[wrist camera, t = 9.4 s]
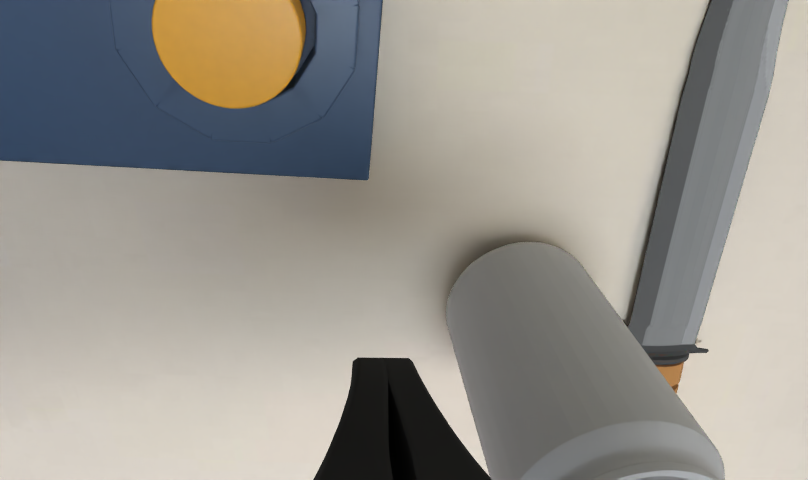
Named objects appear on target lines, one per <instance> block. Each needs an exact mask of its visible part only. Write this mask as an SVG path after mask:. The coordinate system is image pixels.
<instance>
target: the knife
mask: <svg viewBox="0 0 808 480" xmlns="http://www.w3.org/2000/svg"><path fill="white" fill-rule="evenodd" d="M788 1H789V0H711V3H710V6H709V8H708V11H707V14H706V16H705V19H704V22H703V25H702V28H701V31H700V34H699V37H698V40H697V43H696V46H695V49H694V52H693V56H692V61H691V65H690V70H689V74H688V78H687V81H686V84H685V87H684V91H683V94H682V97H681V102H680V106H679V110H678V115H677V119H676V124H675V128H674V132H673V137H672V141H671V145H670V150H669V154H668V158H667V163H666V167H665V171H664V176H663V180H662V185H661V189H660V193H659V198H658V202H657V206H656V211H655V215H654V219H653V224H652V228H651V233H650V237H649V241H648V246H647V250H646V254H645V259H644V263H643V267H642V272H641V276H640V281H639V285H638V289H637V294H636V298H635V302H634V307H633V311H632V315H631V320H630V324H629V325H628V326H627V328H628V329H629V330H630V332H631V333H632V334H633V336H634V337H635V338H636V340H637V341H638V342H639V344H640V345H641V347H642V348H643V349H644V351H645V352H646V353H647V355H648V356H649V357H650V359H651V360H652V362H653V363H654V364H655V366H656V367H657V368H658V370H659V371H660V372H661V374H662V375H663V376H664V378H665V379H666V381H667V382H668V383H669V385H670V386H671V387H672V389H673V390H674V391H675V393H677V389H678V383H679V381H680V378H681V373H682V368H683V364H684V361H686V360H687V359H688V357H689V353H707V352H708V351H709V350H708V349H704V348H697V347H696V345H695V342H696V338H697V335H698V331H699V328H700V325H701V323H702V319H703V316H704V313H705V309H706V306H707V302H708V299H709V296H710V292H711V289H712V286H713V282H714V279H715V275H716V272H717V269H718V265H719V262H720V259H721V255H722V252H723V248H724V245H725V242H726V238H727V235H728V232H729V228H730V225H731V221H732V218H733V215H734V211H735V208H736V204H737V201H738V198H739V194H740V191H741V188H742V184H743V181H744V177H745V174H746V171H747V167H748V164H749V161H750V157H751V154H752V150H753V147H754V144H755V140H756V137H757V134H758V130H759V127H760V123H761V120H762V117H763V113H764V110H765V106H766V103H767V100H768V96H769V92H770V88H771V83H772V79H773V74H774V68H775V61H776V55H777V49H778V44H779V40H780V35H781V30H782V25H783V21H784V17H785V13H786V9H787V5H788Z"/></svg>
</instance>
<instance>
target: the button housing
mask: <svg viewBox="0 0 808 480" xmlns="http://www.w3.org/2000/svg"><path fill="white" fill-rule="evenodd" d="M300 2H301V5H302V8H303V11H304V16H305V22H306V35H305V42H304V47H303V51H302V55H301V59H300V62H299V65H298V68H297V70H296V72H295V74H294V76H293V78H292V79H291V81H290V82H289V84H288V85H287V86H286V87H285V88H284V89H283V90H282V91H281V92H280V93H279V94H278V95H276V96H275V97H274V98H272V99H270V100H269V101H267V102H265V103H262V104H260V105H257V106H253V107H249V108H241V109H231V108H224V107H219V106H215V105H212V104H209V103H206V102H204V101H202V100H200V99H198V98H196V97H194V96H193V95H191V94H190V93H189V92H187V91H186V90H185V89H183V88H182V87H181V86H180V85H179V84H178V83H177V82H176V81H175V80H174V79H173V78H172V77H171V75H170V74H169V72H168V71H167V70H166V68H165V67H164V65H163V63H162V61H161V60H160V57H159V55H158V53H157V50H156V47H155V43H154V40H153V34H152V12H153V7H154V3H155V0H0V160H2V161H21V162H39V163H57V164H76V165H94V166H112V167H131V168H149V169H168V170H186V171H204V172H223V173H241V174H259V175H278V176H296V177H315V178H333V179H351V180H368V179H369V170H370V157H371V144H372V131H373V118H374V106H375V93H376V80H377V67H378V54H379V41H380V29H381V16H382V3H383V0H300Z"/></svg>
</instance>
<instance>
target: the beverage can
mask: <svg viewBox="0 0 808 480" xmlns="http://www.w3.org/2000/svg"><path fill="white" fill-rule="evenodd" d="M446 321H447V326H448V330H449V334H450V337H451V341H452V344H453V348H454V351H455V355H456V358H457V362H458V365H459V369H460V372H461V376H462V379H463V383H464V387H465V390H466V394H467V397H468V401H469V404H470V408H471V411H472V415H473V418H474V422H475V425H476V429H477V432H478V436H479V439H480V443H481V447H482V450H483V454H484V457H485V461H486V464H487V468H488V471H489V475H490V478H491V479H492V480H725V475H724V465H723V461H722V458H721V456H720V454H719V452H718V450H717V449H716V447H715V446H714V444H713V443H712V442H711V440H710V439H709V438H708V436H707V435H706V434H705V432H704V431H703V429H702V428H701V427H700V425H699V424H698V423H697V421H696V420H695V419H694V417H693V416H692V415H691V413H690V412H689V410H688V409H687V408H686V406H685V405H684V404H683V402H682V401H681V400H680V398H679V397H678V396H677V394H676V393H675V391H674V390H673V389H672V387H671V386H670V385H669V383H668V382H667V381H666V379H665V378H664V376H663V375H662V374H661V372H660V371H659V370H658V368H657V367H656V366H655V364H654V363H653V362H652V360H651V359H650V357H649V356H648V355H647V353H646V352H645V351H644V349H643V348H642V347H641V345H640V344H639V342H638V341H637V340H636V338H635V337H634V336H633V334H632V333H631V332H630V330H629V329H628V328H627V326H626V325H625V323H624V322H623V321H622V319H621V318H620V317H619V315H618V314H617V313H616V311H615V310H614V309H613V307H612V306H611V304H610V303H609V302H608V300H607V299H606V298H605V296H604V295H603V294H602V292H601V291H600V289H599V288H598V287H597V285H596V284H595V283H594V281H593V280H592V279H591V277H590V276H589V275H588V273H587V272H586V270H585V269H584V268H583V266H582V265H581V264H580V263H579V262H578V261H577V260H576V259H575V258H574V257H573V256H572V255H570V254H569V253H568V252H566V251H564V250H563V249H560V248H558V247H556V246H553V245H550V244H545V243H540V242H520V243H513V244H509V245H505V246H502V247H499V248H496V249H494V250H492V251H490V252H488V253H486V254H484V255H482V256H481V257H479V258H478V259H476V260H475V261H474V262H473V263H471V264H470V265H469V266H468V267H467V268H466V269H465V270H464V271H463V272H462V274H461V275H460V276H459V277H458V279H457V280H456V282H455V284H454V286H453V287H452V290H451V292H450V295H449V297H448V301H447V307H446Z"/></svg>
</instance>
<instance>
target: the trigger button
mask: <svg viewBox="0 0 808 480" xmlns="http://www.w3.org/2000/svg"><path fill="white" fill-rule="evenodd" d="M152 34H153V40H154V43H155V47H156V50H157V53H158V55H159V57H160V60H161V61H162V63H163V65H164V67H165V68H166V70H167V71H168V72H169V74H170V75H171V77H172V78H173V79H174V80H175V81H176V82H177V83H178V84H179V85H180V86H181V87H182V88H183V89H185V90H186V91H187V92H189V93H190V94H191V95H193V96H194V97H196V98H198V99H200V100H202V101H204V102H206V103H209V104H212V105H215V106H219V107H224V108H231V109H241V108H249V107H253V106H257V105H260V104H262V103H265V102H267V101H269V100H270V99H272V98H274V97H275V96H276V95H278V94H279V93H280V92H281V91H282V90H283V89H284V88H285V87H286V86H287V85H288V84H289V82H290V81H291V79H292V78H293V76H294V74H295V72H296V70H297V68H298V65H299V62H300V59H301V55H302V51H303V47H304V42H305V35H306V22H305V16H304V11H303V8H302V5H301V2H300V0H155V3H154V7H153V12H152Z"/></svg>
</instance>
